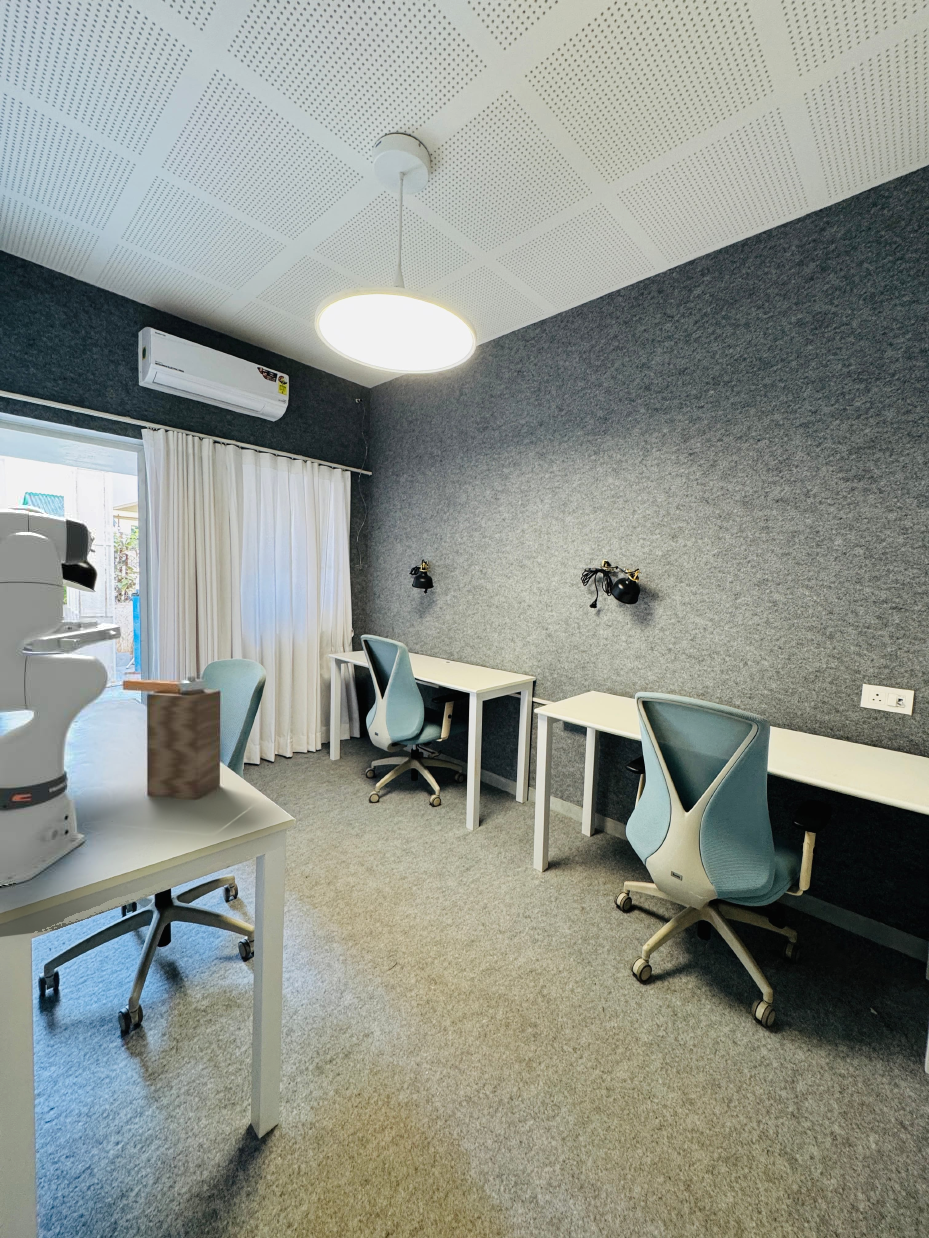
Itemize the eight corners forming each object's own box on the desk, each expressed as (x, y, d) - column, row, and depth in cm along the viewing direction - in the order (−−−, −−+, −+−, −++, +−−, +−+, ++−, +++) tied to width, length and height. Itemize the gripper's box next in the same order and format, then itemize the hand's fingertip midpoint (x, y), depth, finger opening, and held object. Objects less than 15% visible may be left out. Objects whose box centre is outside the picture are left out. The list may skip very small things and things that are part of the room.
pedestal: (219, 785, 133) (220, 690, 132) (197, 799, 124) (197, 697, 123) (172, 781, 135) (172, 687, 134) (147, 794, 126) (147, 694, 125)
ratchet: (209, 691, 131) (209, 675, 130) (194, 695, 125) (194, 679, 124) (136, 686, 133) (136, 671, 133) (118, 690, 128) (117, 674, 127)
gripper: (16, 632, 126) (51, 635, 121) (99, 619, 145) (132, 621, 140) (20, 656, 127) (55, 660, 122) (102, 640, 146) (135, 643, 141)
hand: (97, 639), depth 131 cm, fingers open, 8 cm apart
